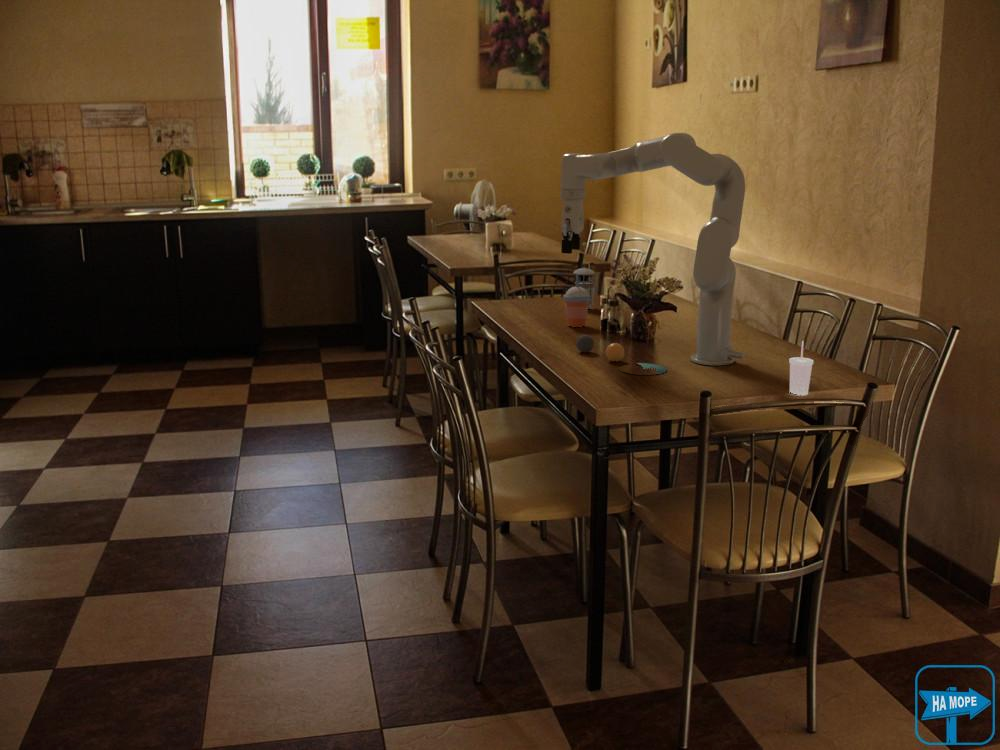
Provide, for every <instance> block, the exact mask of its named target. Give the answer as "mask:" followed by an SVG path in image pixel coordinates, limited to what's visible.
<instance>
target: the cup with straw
mask: <svg viewBox="0 0 1000 750" xmlns="http://www.w3.org/2000/svg"><path fill="white" fill-rule="evenodd" d="M579 276H580V275H578V274H575V282H576V284H575V286H576V287H574V286H571V287H570V288H569V289H567V291H566V293H565V294H564V295H563V300H564V301H565V303H564V304H565V305H564V306H565V307H564V308H565V317H566V326H567V325H568V326H575V327H580V326H584V327H586V321H587V317H588V310H587V309H588V300H590V301H591V299H590V296H589V295H588V293H587V291H586V290H585V289H583V288H582V287H578V281H579ZM568 326H567V327H568ZM580 328H581V327H580Z"/></svg>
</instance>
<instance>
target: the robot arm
mask: <svg viewBox="0 0 1000 750" xmlns="http://www.w3.org/2000/svg"><path fill="white" fill-rule="evenodd" d="M666 167H672V168H674V169H675V170H677V171H678V172H680V173H681V174H683V175H685V176H686V177H687V178H689V179H690V180H692V181H694V182H695V183H697V184H700V185H702V186H706V187H711V186H714V188H715V189H714V190H715V192H714V196H713V200H712V208H711V213H710V217H709V218H710V219H709V221H708V222H706V223H705V224H704V225H703V226H702V228H701V230H700V232H699V235H698V239H697V244H696V249H695V255H694V263H693V269H692V270H693V272H692V273H693V274H692V276H693V280H694V283H695V285H696V286H697V288H698V289H700V290H699V298H698V299H699V300H698V313H697V315H698V317H697V330H696V332H697V333H696V347H695V348H696V349H695V351H696V352H695V353H693V354H691V355H690V360H691V362H694V363H695V364H700V365H705V366H727V365H731V364H733V363H734V362H735V358H736V359H739V360H740V359H741V360H743V359H744V355H745V352H742V351H741V350H734V349H733V345H731V344H730V342H731V330H732V328H731V326H732V314H733V313H732V312H733V299H734V292H735V291H734V289H735V283H736V275H737V271H736V265H735V263H734V261H733V260H732V258H731V257H730V256H731V250H732V248H734V247H735V246H736V244H737V243H738V241H739V237H740V229H741V224H742V216H743V210H744V209H743V207H744V201H745V192H746V179H745V175H744V173H743V170H742V169H741V166H740V165H739V164H738V163H737V162H736V161H735V160H734V159H732V158H731V157H730V156H728V155H726V154H721V153H710V152H708V151H706V150H704V149H703V148H701V147H700V146H698V145H697V143H696V140H695V139H694V137H693V136H692V135H690V134H689V133H686V132H674V133H669V134H667V135H666V136H661V137H657V138H652V139H648V140H643V141H640V142H637V143H635V144H634V145H632V146H629V147H627V148H621V149H618V150H615V151H613V150H612V151H609V152H602V153H593V154H584V153H574V152H573V153H564V154H563V155H562V157H561V167H560V169H561V170H560V172H561V173H560V197H559V198H560V201H562V210H561V221H560V222H561V223H560V224H561V225H560V227H561V234H562V236H561V248H560V249H561V250H560V251H561V252H560V253H561V254H568V255H570V254H572V253H573V250H574V251H575V250H577V251H578V250H580V249H581V232H583V230H584V227H585V225H584V223H585V222H584V220H585V219H584V218H585V217H584V202H585V201H586V187H587V186H586V185H587V184H586V183H587V182H586V181H587V180H591V181H593V180H594V181H597V180H603V179H610V178H613V177H618V176H623V175H628V174H632V173H637V172H638V173H643V172H647V171H652V170H656V169H660V168H666Z"/></svg>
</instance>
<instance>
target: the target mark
mask: <svg viewBox="0 0 1000 750" xmlns="http://www.w3.org/2000/svg"><path fill="white" fill-rule="evenodd" d="M636 363H637V364H639V365H641V366H642V367H643V369H646V368H647V369H648V368H649V369H650V368H651V367H652V368H651V369H653V368H654V369H655V368H656V372H657V373H656V374H660V375H663V374H662V373H664V374H666V373H667V372H668V368H667V367H665V366H662V365H659V364H654V363H648V362H645V363H644V362H636ZM647 369H646V370H647ZM666 371H667V372H666ZM665 372H666V373H665ZM645 373H646V372H645ZM652 373H653V372H652Z"/></svg>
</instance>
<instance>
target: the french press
mask: <svg viewBox="0 0 1000 750" xmlns="http://www.w3.org/2000/svg"><path fill="white" fill-rule="evenodd" d="M581 245H582V246H583V248H584V249H583V262H586V261H585V254H586V253H585V252H586V249H585V247H586V246H588V243H587V242H583V243H582V244H581ZM572 273H573V275H576V274H578V275H579V276H591V275H595V271H594V270H593V269H591V268H587V267H581V268H578V269H575V270H574V271H573V272H572ZM588 280H589V281H588ZM588 280H586V281H585V277H583V280H581V281H580V280H578V287H582V288H583V289H585V290H586V291H587V293H588V295H589V296H590V300H588V308H591V307H593V306H594V302H595V301H594V299H595V296H596V295H597V293H598V290H599V285H598V281H597V279H596V278H595V277H594V276H593V277H589V278H588ZM594 280H595V282H596V285H597V286H595V282H594ZM574 284H575V285H574V286H573V287H576V281H575V282H574ZM596 287H597V288H596ZM595 288H596V289H595ZM595 290H596V293H595Z"/></svg>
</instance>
